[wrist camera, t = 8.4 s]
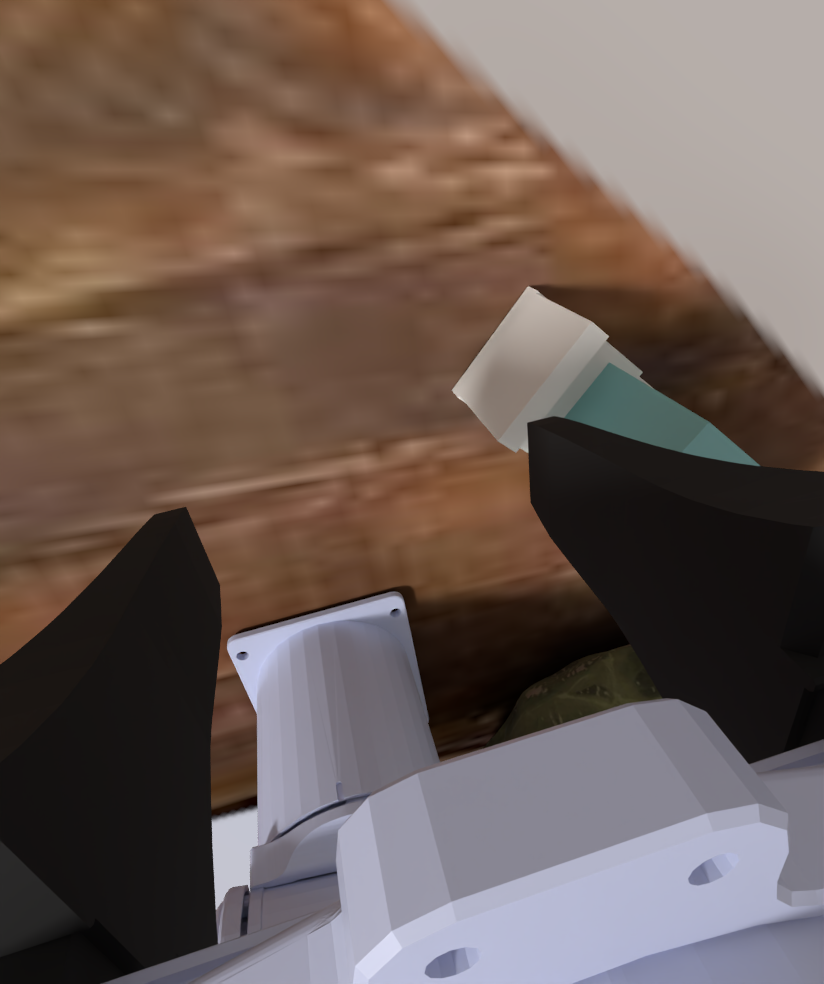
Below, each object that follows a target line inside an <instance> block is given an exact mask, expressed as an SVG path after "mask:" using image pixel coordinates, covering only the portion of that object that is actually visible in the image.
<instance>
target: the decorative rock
mask: <svg viewBox="0 0 824 984" xmlns="http://www.w3.org/2000/svg"><path fill="white" fill-rule="evenodd" d="M657 699H662V697H661V695H660V693H659V692H658V690H657V688H656V687H655V685H654V683H653V681H652V680H651V678H650V676H649V675H648V673H647V671H646V669H645V668H644V666H643V664H642V663H641V661H640V659H639V658H638V656H637V654H636V653H635V651H634V650H633V648H632V646H631V645H630V644H629V645H626V646H623V647H619V648H616V649H613V650H610V651H606V652H601V653H597V654H592V655H588V656H586V657H584V658H581V659H579V660H576V661H574V662H572V663H570V664H569V665H567V666H566V667H564V668H563V669H561V670H560V671H558V672H557V673H555V674H553V675H551V676H549V677H547V678H544V679H542V680H541V681H539V682H537V683H535V684H533V685H531V686H530V687H529V688H528V689H526V690H525V691H524V692H523V693H522V694H521V696H520V697H519V699H518V700H517V703H516V705H515V707H514V708H513V710H512V712H511V713H510V715H509V717H508V718H507V720H506V722H505V723H504V724H503V725H502V727H501V728H500V729H499V731H498V732H497V733H496V734H495V735H494V736H493V737H492V738H491V739H490V740H489V742H488V743H487V744H486V745H485V747H484V748H487V747H490V746H493V745H497V744H500V743H503V742H506V741H509V740H512V739H516V738H519V737H522V736H525V735H528V734H531V733H535V732H538V731H541V730H544V729H547V728H550V727H554V726H557V725H560V724H563V723H566V722H569V721H573V720H576V719H579V718H582V717H585V716H589V715H592V714H595V713H598V712H601V711H604V710H608V709H611V708H614V707H617V706H620V705H623V704H627V703H634V702H642V701H649V700H657ZM484 748H483V749H484Z"/></svg>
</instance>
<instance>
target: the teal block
mask: <svg viewBox="0 0 824 984" xmlns="http://www.w3.org/2000/svg"><path fill="white" fill-rule="evenodd" d="M564 418H566V419H570V420H573V421H577V422H580V423H583V424H587V425H590V426H593V427H596V428H599V429H602V430H605V431H609V432H612V433H615V434H618V435H621V436H624V437H628V438H631V439H634V440H638V441H641V442H645V443H648V444H652V445H655V446H659V447H663V448H667V449H671V450H675V451H678V452H682V453H687V454H691V455H696V456H700V457H706V458H711V459H717V460H722V461H728V462H734V463H740V464H747V465H754V466H760V465H759V464H758V463H756V462H755V461H754V460H753V459H752V458H751V457H749V456H748V455H747V454H746V453H745V452H744V451H742V450H741V449H740V448H739V447H738V446H737V445H736V444H734V443H733V442H732V441H731V440H730V439H729V438H727V437H726V436H725V435H724V434H723V433H722V432H720V431H719V430H718V429H717V428H716V427H715V426H714V425H712V424H711V423H710V422H709V421H707V420H705V419H704V418H702V417H700V416H699V415H697V414H695V413H694V412H692V411H690V410H688V409H687V408H685V407H683V406H682V405H680V404H678V403H677V402H675V401H673V400H672V399H670V398H668V397H667V396H665V395H663V394H662V393H660V392H658V391H657V390H655V389H653V388H652V387H650V386H648V385H646V384H645V383H643V382H641V381H640V380H638V379H636V378H635V377H633V376H631V375H630V374H628V373H626V372H625V371H623V370H621V369H620V368H618V367H616V366H615V365H613V364H611V363H610V362H609V363H608V364H607V366H606V367H605V368H604V369H603V371H602V372H601V373H600V374H599V375H598V377H597V378H596V379H595V380H594V382H593V383H592V384H591V385H590V387H589V388H588V389H587V390H586V391H585V393H584V394H583V395H582V396H581V398H580V399H579V400H578V401H577V402H576V404H575V405H574V406H573V407H572V409H571V410H570V411H569V412H568V413H567V415H566V416H565V417H564Z"/></svg>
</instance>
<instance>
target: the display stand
mask: <svg viewBox="0 0 824 984" xmlns="http://www.w3.org/2000/svg"><path fill="white" fill-rule="evenodd" d="M608 337H609V336H608V335H607V334H606V333H605V332H603V331H602V330H601V329H600V328H599V327H598V326H596V325H595V324H594V323H593V322H592V321H590V320H588V319H586V318H584V317H582V316H580V315H578V314H576V313H574V312H572V311H570V310H568V309H566V308H564V307H562V306H560V305H558V304H556V303H554V302H552V301H550V300H548V299H547V298H546V297H544V296H543V295H542V294H541V293H540V292H538V291H537V290H535V289H533V288H531V287H529V286H528V287H527V288H526V290H525V291H524V292H523V294H522V295H521V297H520V298H519V299H518V301H517V302H516V303H515V305H514V306H513V307H512V309H511V310H510V312H509V313H508V314H507V316H506V317H505V318H504V320H503V321H502V322H501V324H500V325H499V327H498V328H497V329H496V331H495V332H494V333H493V335H492V336H491V337H490V339H489V340H488V342H487V343H486V344H485V346H484V347H483V348H482V350H481V351H480V353H479V354H478V355H477V357H476V358H475V359H474V361H473V362H472V363H471V365H470V366H469V368H468V369H467V370H466V372H465V373H464V374H463V376H462V377H461V378H460V380H459V381H458V383H457V384H456V385H455V387H454V388H453V389H452V391H453V392H454V394H455V395H456V396H457V397H458V398H459V399H461V400H462V401H464V402H465V403H466V404H467V405H468V406H469V407H470V409H471V410H472V411H473V412H474V413H475V415H476V416H477V417H478V418H479V419H480V420H481V422H482V423H483V424H484V425H485V426H486V428H487V429H488V430H489V431H490V432H491V434H492V435H493V436H494V437H495V438H496V439H497V441H498V442H500V443H502V444H503V445H505V446H506V447H508V448H509V449H511V450H513V451H514V452H517V451H518V449H519V448H521V449H523V450H524V451H526V452H527V453H528V431H527V423H528V422H532V421H536V420H540V419H544V418H548V417H552V416H557V417H562V418H564V417H565V416H566V415H567V413H568V412H569V411H570V410H571V409H572V407H573V406H574V405H575V404H576V402H577V401H578V400H579V399H580V398H581V396H582V395H583V394H584V393H585V391H586V390H587V389H588V388H589V387H590V385H591V384H592V383H593V382H594V380H595V379H596V378H597V377H598V375H599V374H600V373H601V372H602V371H603V369H604V368H605V367H606V366H607V364H608V363H609V362H610V363H611V364H613V365H615V366H616V367H618V368H620V369H621V370H623V371H625V372H626V373H628V374H630V375H631V376H633V377H635V378H636V379H638V380H640V381H641V382H643V383H645V384H646V385H648V386H650V385H649V384H648V383H646V382H645V381H644V380H643V379H642V378H641V377H639V376H640V375H641V374H642V373H643V372H642V371H641V370H640V369H639V368H637V367H636V366H635V365H634V364H633V363H631V362H630V361H629V360H628V359H627V358H626V357H624V356H623V355H622V354H621V353H620V352H619V351H617V350H616V349H615V348H614V347H613V346H612V345H610V344H609V343H608V342H607V341H606V340H607V339H608ZM650 387H651V386H650ZM653 389H654V388H653Z"/></svg>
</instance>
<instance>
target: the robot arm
mask: <svg viewBox="0 0 824 984" xmlns="http://www.w3.org/2000/svg"><path fill="white" fill-rule="evenodd" d="M527 431H528V453H529V475H530V497H531V504H532V506H533V507H534V509H535V511H536V513H537V515H538V517H539V518H540V520H541V522H542V524H543V525H544V527H545V529H546V531H547V532H548V534H549V536H550V537H551V539H552V540H553V541H554V543H555V544H556V545H557V546H558V548H559V549H560V550H561V552H562V553H563V554H564V555H565V557H566V558H567V559H568V561H569V562H570V563H571V564H572V566H573V567H574V568H575V570H576V571H577V572H578V573H579V575H580V576H581V577H582V578H583V580H584V581H585V582H586V583H587V585H588V586H589V587H590V588H591V590H592V591H593V592H594V593H595V595H596V596H597V597H598V599H599V600H600V601H601V602H602V604H603V605H604V606H605V607H606V609H607V610H608V611H609V613H610V614H611V616H612V617H613V618H614V620H615V621H616V623H617V624H618V625H619V627H620V629H621V630H622V632H623V633H624V635H625V637H626V638H627V640H628V642H629V643H630V645H631V646H632V648H633V650H634V651H635V653H636V654H637V656H638V658H639V659H640V661H641V663H642V664H643V666H644V668H645V669H646V671H647V673H648V675H649V676H650V678H651V680H652V681H653V683H654V685H655V687H656V688H657V690H658V692H659V693H660V695H661V697H662V699H657V700H649V701H642V702H634V703H627V704H623V705H620V706H617V707H614V708H611V709H608V710H604V711H601V712H598V713H595V714H592V715H589V716H585V717H582V718H579V719H576V720H573V721H569V722H566V723H563V724H560V725H557V726H554V727H550V728H547V729H544V730H541V731H538V732H535V733H531V734H528V735H525V736H522V737H519V738H516V739H512V740H509V741H506V742H503V743H500V744H497V745H493V746H490V747H487V748H484V749H481V750H478V751H474V752H471V753H468V754H465V755H462V756H459V757H455V758H452V759H449V760H446V761H443V762H440V761H439V758H438V755H437V751H436V748H435V745H434V741H433V738H432V735H431V732H430V728H429V725H428V721H429V716H428V712H427V707H426V702H425V697H424V693H423V688H422V683H421V678H420V673H419V669H418V664H417V659H416V654H415V650H414V645H413V640H412V635H411V631H410V626H409V621H408V616H407V612H406V607H405V602H404V599H403V596H402V594H400V593H399V592H395V591H394V592H388V593H385V594H381V595H377V596H374V597H370V598H367V599H363V600H359V601H356V602H352V603H348V604H345V605H341V606H338V607H334V608H330V609H327V610H323V611H319V612H316V613H312V614H309V615H305V616H301V617H298V618H294V619H290V620H287V621H283V622H280V623H276V624H272V625H269V626H265V627H261V628H258V629H254V630H251V631H247V632H243V633H240V634H236V635H234V636H232V637H230V638H229V640H228V642H227V649H228V652H229V654H230V657H231V659H232V661H233V663H234V665H235V667H236V670H237V672H238V674H239V676H240V678H241V680H242V683H243V685H244V687H245V689H246V691H247V693H248V696H249V698H250V700H251V702H252V704H253V707H254V709H255V711H256V713H257V781H258V846H256V847H253V848H252V849H251V850H250V891H249V888H248V885H245V886H238V887H232V888H230V889H229V891H228V892H227V893H226V895H225V898H224V901H223V902H222V903H221V904H220V906H219V907H218V909H217V910H216V909H215V890H214V872H213V871H214V870H213V853H212V852H213V851H212V821H211V771H210V743H211V725H212V715H213V706H214V697H215V687H216V678H217V669H218V660H219V650H220V639H221V628H222V622H221V599H220V584H219V582H218V580H217V577H216V575H215V573H214V570H213V568H212V566H211V563H210V561H209V559H208V556H207V554H206V552H205V550H204V547H203V545H202V543H201V540H200V538H199V536H198V533H197V531H196V529H195V527H194V524H193V522H192V520H191V517H190V515H189V513H188V510H187V508H186V507H183V508H179V509H175V510H171V511H167V512H163V513H159V514H155V515H154V516H153V517H152V518H151V519H149V520H148V521H147V522H146V523H145V525H144V526H143V527H142V528H141V529H140V530H139V531H138V532H137V533H136V534H135V535H134V537H133V538H132V539H131V540H130V541H129V542H128V543H127V544H126V546H125V547H124V548H123V549H122V550H121V551H120V552H119V553H118V554H117V556H116V557H115V558H114V559H113V560H112V561H111V562H110V563H109V564H108V565H107V567H106V568H105V569H104V570H103V571H102V572H101V573H100V574H99V575H98V576H97V577H96V578H95V579H94V580H93V581H92V582H91V583H90V584H89V586H88V587H87V588H86V589H85V590H84V591H83V592H82V593H81V594H80V595H79V596H78V597H77V598H76V599H75V600H74V601H73V602H72V603H71V604H70V605H69V606H68V607H67V608H66V609H65V610H64V611H63V612H62V613H61V614H60V615H58V616H57V617H56V618H55V619H54V620H53V621H52V622H51V623H50V624H49V625H48V626H46V627H45V628H44V629H43V630H42V631H41V632H40V633H38V634H37V635H36V636H35V637H34V638H33V639H31V640H30V641H29V642H28V643H27V644H25V645H24V646H23V647H22V648H21V649H19V650H18V651H17V652H16V653H15V654H13V655H12V656H11V657H10V658H8V659H7V660H6V661H4V662H3V663H2V664H0V984H824V472H818V471H803V470H791V469H782V468H772V467H763V466H754V465H747V464H740V463H734V462H728V461H722V460H717V459H711V458H706V457H700V456H696V455H691V454H687V453H682V452H678V451H675V450H671V449H667V448H663V447H659V446H655V445H652V444H648V443H645V442H641V441H638V440H634V439H631V438H628V437H624V436H621V435H618V434H615V433H612V432H609V431H605V430H602V429H599V428H596V427H593V426H590V425H587V424H583V423H580V422H577V421H573V420H570V419H566V418H562V417H557V416H552V417H548V418H544V419H540V420H536V421H532V422H528V423H527ZM393 609H398V610H397V611H395V612H391V611H392V610H393ZM239 652H247V653H245V654H240V653H239Z"/></svg>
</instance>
